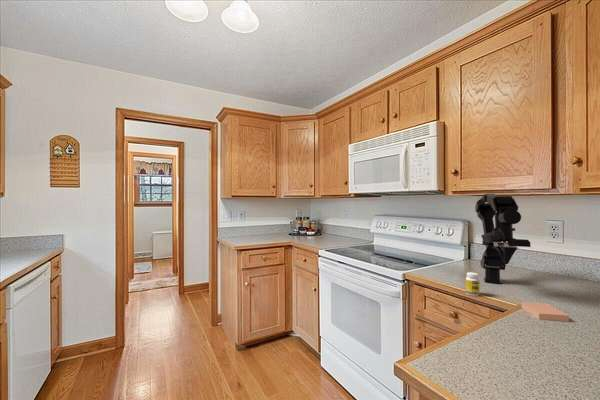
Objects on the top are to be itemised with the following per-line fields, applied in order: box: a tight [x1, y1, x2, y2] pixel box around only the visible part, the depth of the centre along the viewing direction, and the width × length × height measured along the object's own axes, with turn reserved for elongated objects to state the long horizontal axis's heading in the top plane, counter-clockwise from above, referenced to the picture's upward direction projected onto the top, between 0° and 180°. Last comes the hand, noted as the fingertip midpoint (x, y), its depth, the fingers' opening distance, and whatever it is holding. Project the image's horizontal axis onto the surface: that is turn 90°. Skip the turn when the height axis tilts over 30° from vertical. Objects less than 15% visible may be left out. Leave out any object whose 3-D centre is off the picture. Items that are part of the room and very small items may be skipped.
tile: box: [521, 301, 570, 322], centre depth 92 cm, size 2×8×10 cm
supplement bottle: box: [465, 271, 480, 297], centre depth 112 cm, size 5×5×8 cm
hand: (505, 264), depth 112 cm, fingers closed
